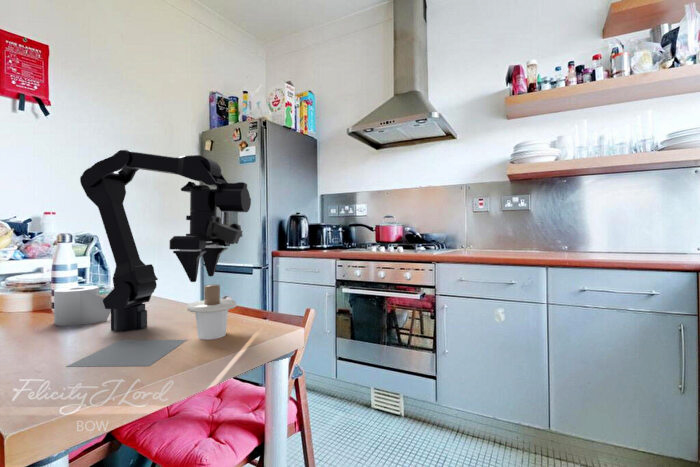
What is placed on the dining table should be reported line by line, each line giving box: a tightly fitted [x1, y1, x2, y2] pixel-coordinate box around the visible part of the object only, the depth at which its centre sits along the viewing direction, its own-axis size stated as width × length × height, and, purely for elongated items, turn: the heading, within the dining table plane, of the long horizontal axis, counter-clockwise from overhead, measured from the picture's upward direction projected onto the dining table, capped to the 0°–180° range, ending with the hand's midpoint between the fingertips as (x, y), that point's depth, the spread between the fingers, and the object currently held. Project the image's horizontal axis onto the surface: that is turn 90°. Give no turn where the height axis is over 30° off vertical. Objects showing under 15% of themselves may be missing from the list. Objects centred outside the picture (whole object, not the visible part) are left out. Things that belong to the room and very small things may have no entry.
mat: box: [65, 339, 187, 368], centre depth 65 cm, size 14×14×1 cm
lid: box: [186, 284, 237, 313], centre depth 75 cm, size 10×10×5 cm
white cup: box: [194, 310, 229, 341], centre depth 75 cm, size 7×7×7 cm
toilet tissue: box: [53, 285, 111, 327], centre depth 91 cm, size 9×13×9 cm
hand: (202, 278), depth 79 cm, fingers open, 9 cm apart
